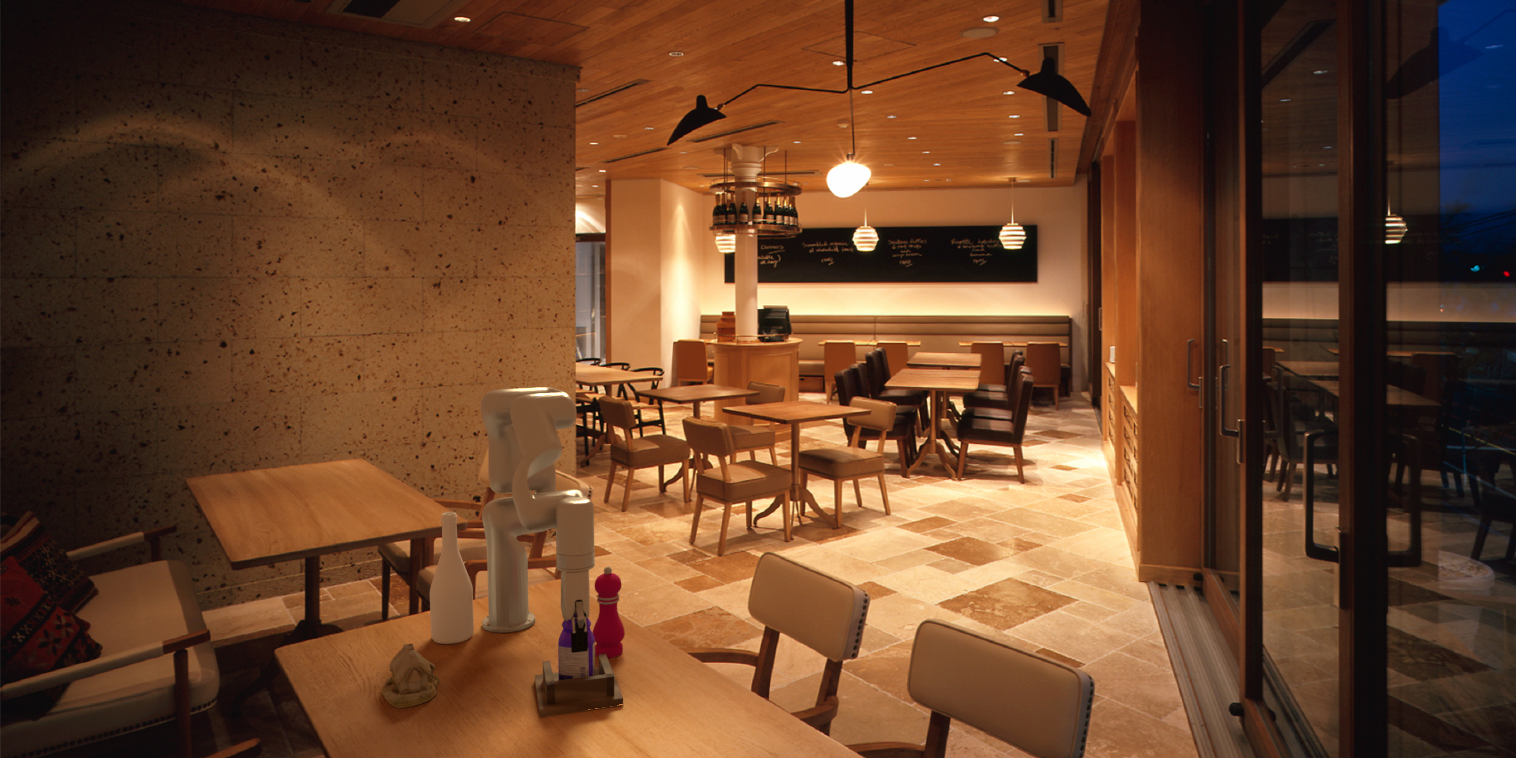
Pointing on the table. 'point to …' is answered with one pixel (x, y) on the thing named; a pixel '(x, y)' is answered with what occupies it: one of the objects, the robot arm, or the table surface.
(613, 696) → the bottle rest
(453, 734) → the table surface
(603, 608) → the pepper mill
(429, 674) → the ceramic model
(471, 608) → the wine bottle
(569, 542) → the robot arm
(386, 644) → the table surface
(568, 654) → the bottle
